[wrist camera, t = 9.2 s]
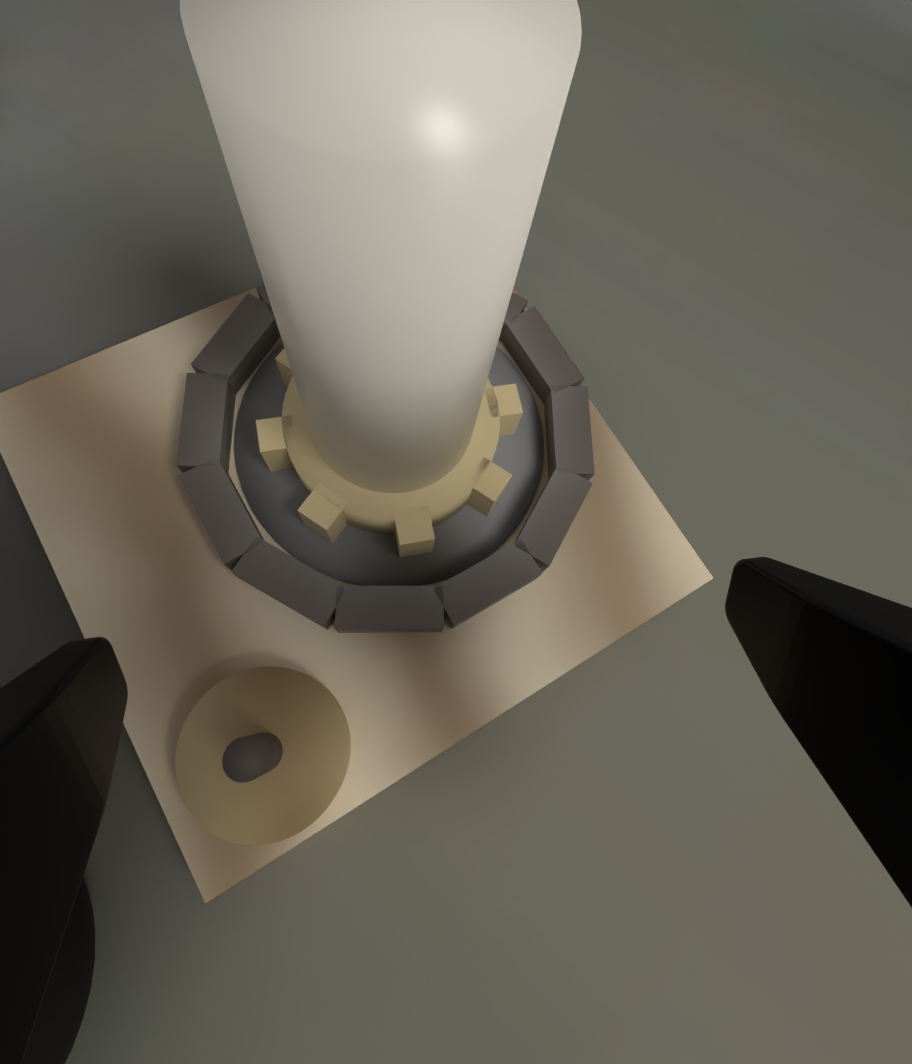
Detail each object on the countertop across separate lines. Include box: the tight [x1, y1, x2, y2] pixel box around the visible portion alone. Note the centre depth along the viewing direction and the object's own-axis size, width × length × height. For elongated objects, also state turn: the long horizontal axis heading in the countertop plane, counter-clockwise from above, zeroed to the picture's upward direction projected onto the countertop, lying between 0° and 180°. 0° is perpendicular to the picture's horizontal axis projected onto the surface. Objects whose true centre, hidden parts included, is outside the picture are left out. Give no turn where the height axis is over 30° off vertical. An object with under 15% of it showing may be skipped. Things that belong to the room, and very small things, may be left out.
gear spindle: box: [180, 0, 582, 557], centre depth 13 cm, size 8×8×12 cm
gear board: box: [0, 284, 713, 904], centre depth 18 cm, size 17×16×4 cm
